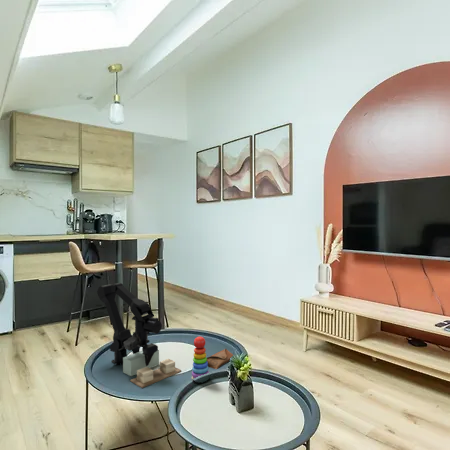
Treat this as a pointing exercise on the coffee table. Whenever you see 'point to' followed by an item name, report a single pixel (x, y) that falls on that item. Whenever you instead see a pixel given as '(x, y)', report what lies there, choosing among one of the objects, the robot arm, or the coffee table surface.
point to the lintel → (138, 362)
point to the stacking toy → (199, 358)
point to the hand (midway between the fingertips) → (141, 362)
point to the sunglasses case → (219, 359)
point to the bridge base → (155, 373)
